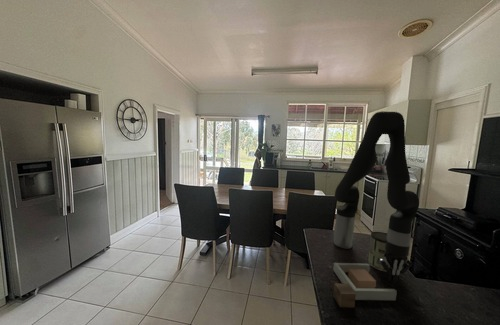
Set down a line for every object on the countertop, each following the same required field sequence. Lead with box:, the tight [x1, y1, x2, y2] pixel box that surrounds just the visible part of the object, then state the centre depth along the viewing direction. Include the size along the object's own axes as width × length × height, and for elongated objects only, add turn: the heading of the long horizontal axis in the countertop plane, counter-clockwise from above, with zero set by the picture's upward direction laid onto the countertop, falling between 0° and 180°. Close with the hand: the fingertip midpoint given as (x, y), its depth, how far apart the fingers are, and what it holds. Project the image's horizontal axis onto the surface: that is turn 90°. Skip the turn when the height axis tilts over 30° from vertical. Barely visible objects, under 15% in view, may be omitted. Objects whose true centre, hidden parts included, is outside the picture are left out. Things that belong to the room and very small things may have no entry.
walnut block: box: [332, 282, 356, 308], centre depth 71 cm, size 5×5×5 cm
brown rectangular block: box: [347, 269, 377, 289], centre depth 81 cm, size 7×7×4 cm
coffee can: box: [367, 231, 388, 273], centre depth 94 cm, size 10×10×14 cm
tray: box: [332, 262, 398, 301], centre depth 80 cm, size 16×15×4 cm
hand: (392, 281), depth 81 cm, fingers closed
